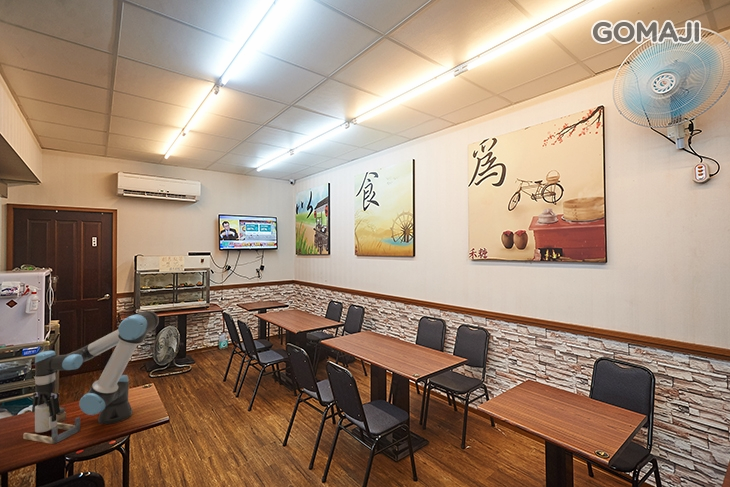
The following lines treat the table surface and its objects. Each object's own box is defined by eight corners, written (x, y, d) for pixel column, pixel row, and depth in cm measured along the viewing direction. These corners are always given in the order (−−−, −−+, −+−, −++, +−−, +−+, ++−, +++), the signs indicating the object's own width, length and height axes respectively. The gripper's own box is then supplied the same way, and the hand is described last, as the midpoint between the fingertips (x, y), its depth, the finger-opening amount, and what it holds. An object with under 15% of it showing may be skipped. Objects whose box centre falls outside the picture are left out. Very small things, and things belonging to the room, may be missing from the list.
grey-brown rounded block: (66, 419, 184) (66, 406, 184) (58, 423, 180) (58, 409, 180) (56, 417, 185) (56, 404, 185) (47, 421, 181) (47, 408, 181)
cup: (43, 433, 165) (42, 409, 165) (30, 431, 167) (30, 407, 167) (61, 424, 173) (60, 401, 173) (48, 423, 175) (48, 400, 175)
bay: (80, 430, 172) (80, 417, 172) (53, 444, 161) (54, 429, 161) (50, 426, 177) (51, 412, 177) (23, 438, 165) (23, 424, 165)
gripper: (69, 380, 171) (69, 424, 171) (38, 377, 176) (39, 420, 176) (52, 386, 164) (53, 432, 164) (21, 383, 169) (22, 428, 169)
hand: (46, 426), depth 170 cm, fingers closed on cup, 8 cm apart
